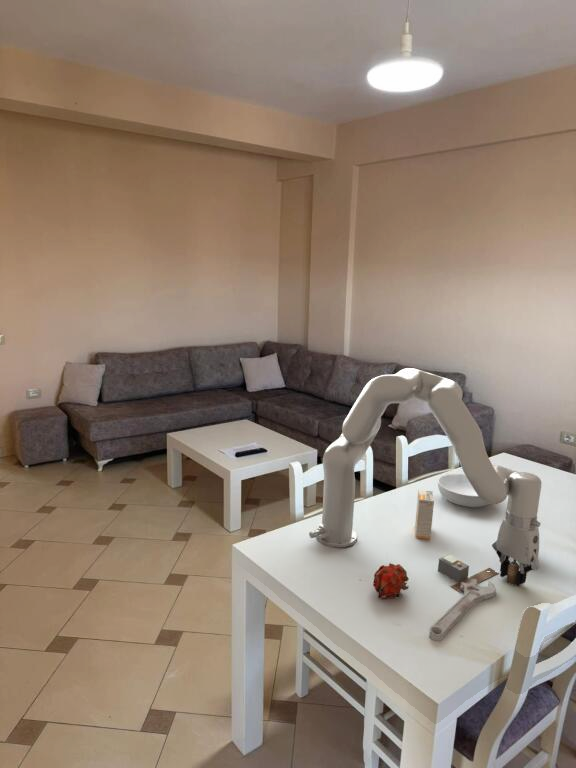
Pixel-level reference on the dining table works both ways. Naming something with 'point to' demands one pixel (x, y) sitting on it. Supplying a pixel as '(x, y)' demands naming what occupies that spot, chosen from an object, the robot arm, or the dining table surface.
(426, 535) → the supplement box
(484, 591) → the wrench
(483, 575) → the strip
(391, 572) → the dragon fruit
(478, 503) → the serving bowl
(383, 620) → the dining table surface
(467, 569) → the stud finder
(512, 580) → the awl
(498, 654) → the dining table surface
